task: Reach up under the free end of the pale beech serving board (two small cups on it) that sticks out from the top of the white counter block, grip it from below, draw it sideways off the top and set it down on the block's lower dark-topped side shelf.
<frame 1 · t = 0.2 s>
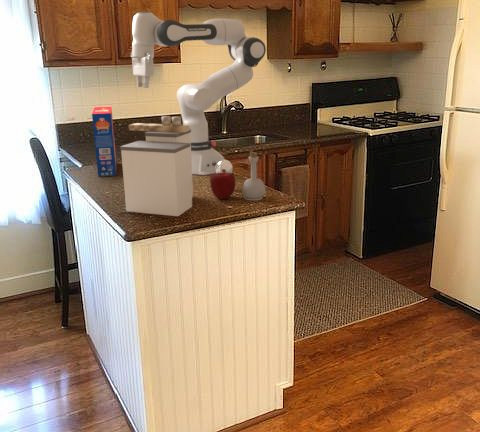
hand: (143, 87, 221), 39 cm above the countertop, tool pointing down, fingers open, 8 cm apart
potion bottle: (253, 198, 198), on the countertop
apple: (223, 198, 199), on the countertop
pasta box: (107, 169, 249), on the countertop
serving board: (159, 130, 191), point 26 cm above the countertop, touching counter block
counter block: (172, 199, 198), on the countertop
light bulb: (224, 189, 212), on the countertop
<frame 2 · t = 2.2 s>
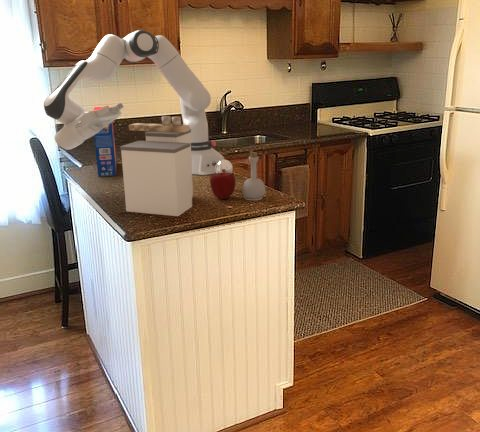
hand: (115, 106, 192), 34 cm above the countertop, tool pointing upward, fingers open, 8 cm apart
nothing on the countertop moved.
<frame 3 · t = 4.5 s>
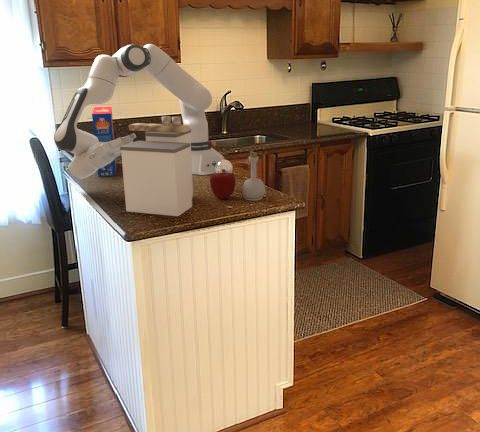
hand: (128, 137, 196), 23 cm above the countertop, tool pointing upward, fingers open, 8 cm apart
nothing on the countertop moved.
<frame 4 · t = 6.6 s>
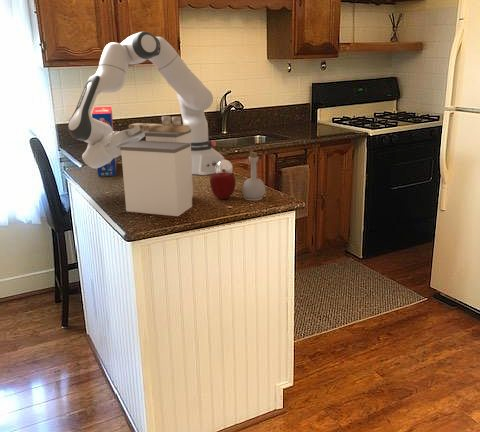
hand: (144, 125, 192), 27 cm above the countertop, tool pointing upward, fingers closed on serving board, 4 cm apart
serving board: (159, 130, 191), point 26 cm above the countertop, touching counter block, gripper
everything else where it was.
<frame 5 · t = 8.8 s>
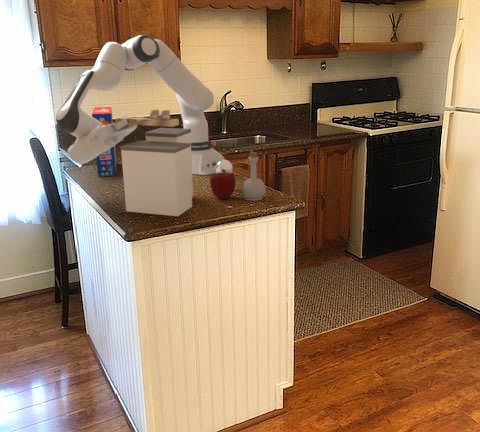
hand: (131, 119, 184), 31 cm above the countertop, tool pointing upward, fingers closed on serving board, 4 cm apart
serving board: (147, 124, 183), point 29 cm above the countertop, touching gripper
everything else where it was.
when the fingers open (26 cm above the countertop, at t = 11.0 s): serving board drops 1 cm, resting on counter block.
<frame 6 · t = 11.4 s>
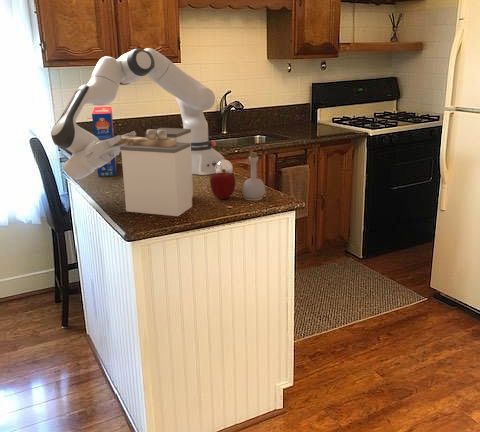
hand: (127, 135, 182), 26 cm above the countertop, tool pointing upward, fingers open, 8 cm apart
serving board: (144, 144, 181), point 23 cm above the countertop, touching counter block
everything else where it was.
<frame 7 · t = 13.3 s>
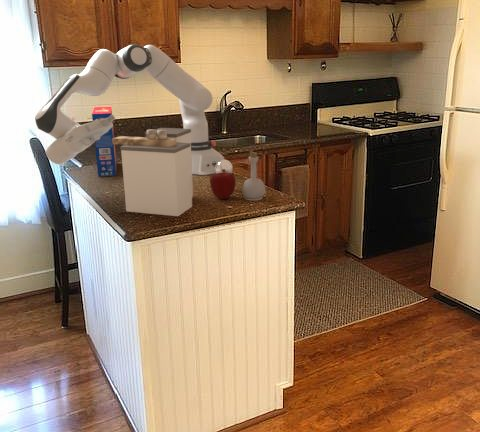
hand: (106, 118, 186), 31 cm above the countertop, tool pointing upward, fingers open, 8 cm apart
nothing on the countertop moved.
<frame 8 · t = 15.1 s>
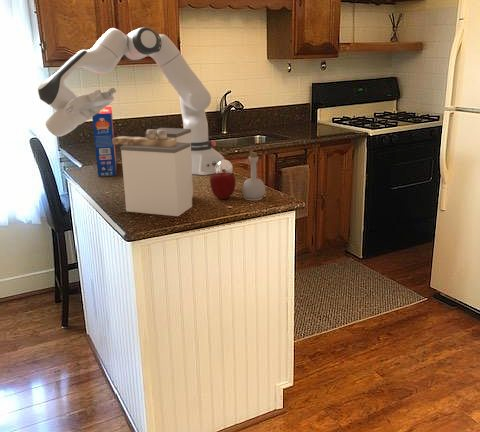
hand: (107, 90, 187), 40 cm above the countertop, tool pointing upward, fingers open, 8 cm apart
nothing on the countertop moved.
at the end: serving board inside the target area (0.4 cm from its centre), point 23.0 cm above the countertop; the gripper is holding nothing; serving board tilted 0° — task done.
